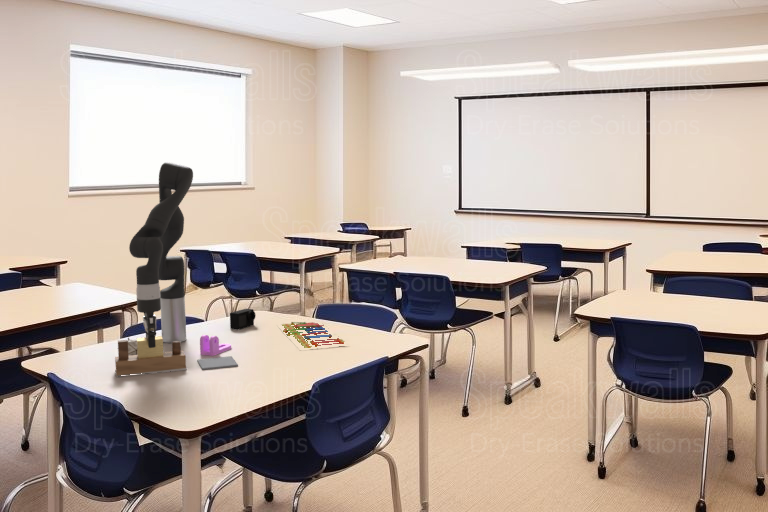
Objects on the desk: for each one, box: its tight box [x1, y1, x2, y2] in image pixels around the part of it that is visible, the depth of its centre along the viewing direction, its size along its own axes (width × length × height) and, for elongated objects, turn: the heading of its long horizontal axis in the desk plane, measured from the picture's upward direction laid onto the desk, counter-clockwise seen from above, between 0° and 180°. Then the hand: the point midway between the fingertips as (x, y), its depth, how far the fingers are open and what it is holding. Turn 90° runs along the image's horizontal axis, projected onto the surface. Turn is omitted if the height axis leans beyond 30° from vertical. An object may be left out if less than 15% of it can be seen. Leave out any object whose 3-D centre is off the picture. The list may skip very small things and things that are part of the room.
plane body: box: [114, 339, 188, 377], centre depth 247 cm, size 7×22×11 cm, turn 112°
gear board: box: [281, 321, 345, 348], centre depth 297 cm, size 45×2×19 cm
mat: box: [196, 355, 239, 371], centre depth 256 cm, size 12×12×1 cm
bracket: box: [199, 334, 232, 357], centre depth 273 cm, size 13×6×7 cm, turn 156°
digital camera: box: [229, 308, 256, 331], centre depth 313 cm, size 10×5×7 cm, turn 150°
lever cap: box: [136, 335, 164, 359], centre depth 247 cm, size 4×8×7 cm, turn 112°
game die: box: [127, 337, 137, 356], centre depth 259 cm, size 9×8×10 cm
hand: (150, 344), depth 246 cm, fingers open, 8 cm apart
